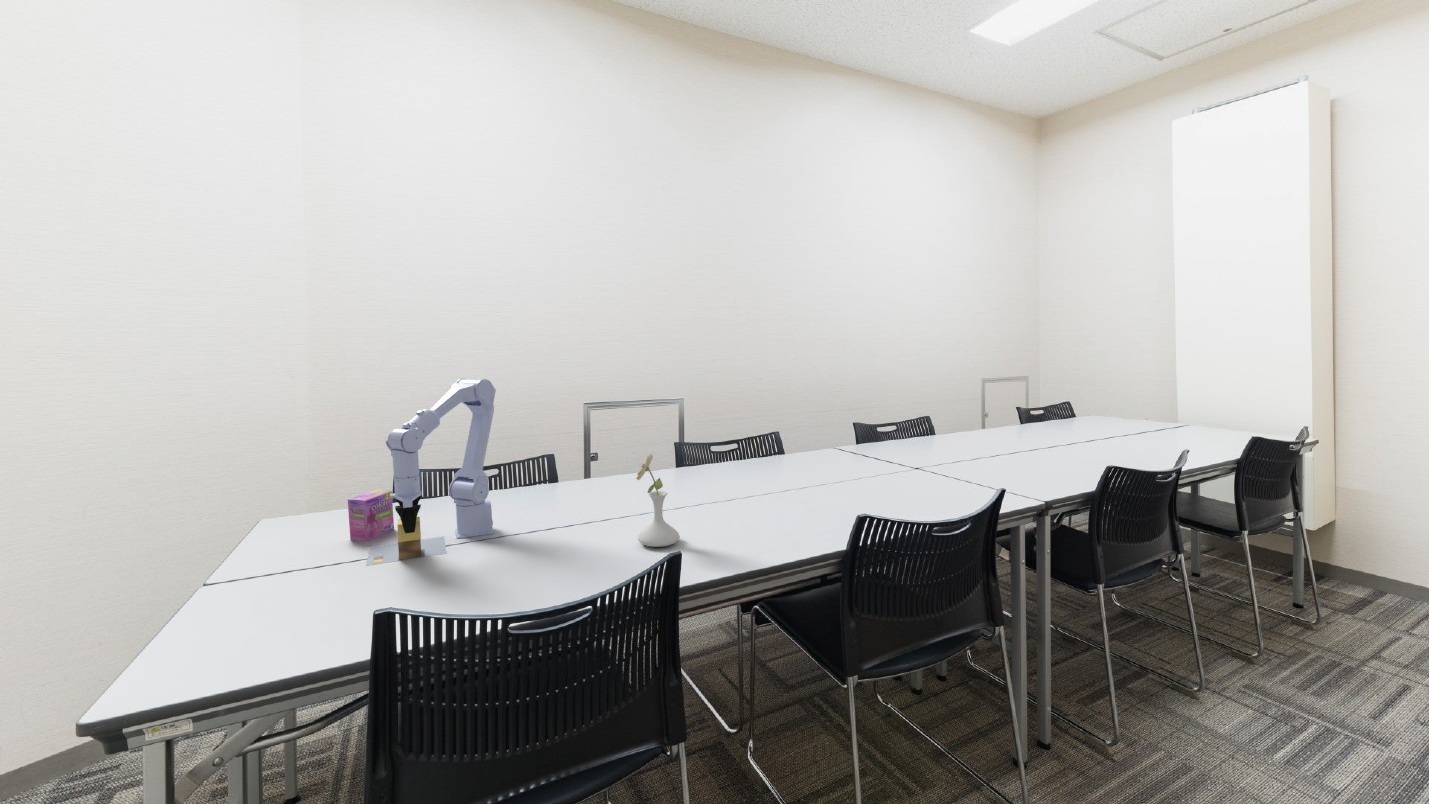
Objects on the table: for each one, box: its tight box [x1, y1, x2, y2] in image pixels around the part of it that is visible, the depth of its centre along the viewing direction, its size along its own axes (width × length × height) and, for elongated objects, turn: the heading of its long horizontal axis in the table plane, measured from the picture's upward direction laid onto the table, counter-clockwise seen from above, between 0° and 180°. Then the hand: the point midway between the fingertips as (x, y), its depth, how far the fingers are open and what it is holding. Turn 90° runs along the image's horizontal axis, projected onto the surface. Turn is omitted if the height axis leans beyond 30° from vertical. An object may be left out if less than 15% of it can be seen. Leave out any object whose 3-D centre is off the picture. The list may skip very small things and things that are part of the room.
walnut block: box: [397, 538, 422, 560], centre depth 151 cm, size 5×5×4 cm
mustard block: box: [396, 516, 422, 542], centre depth 151 cm, size 5×5×4 cm
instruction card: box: [365, 535, 447, 567], centre depth 155 cm, size 18×15×1 cm
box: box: [347, 489, 395, 542], centre depth 167 cm, size 10×6×12 cm, turn 168°
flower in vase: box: [635, 453, 681, 548], centre depth 158 cm, size 13×11×25 cm
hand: (410, 528), depth 151 cm, fingers open, 7 cm apart
